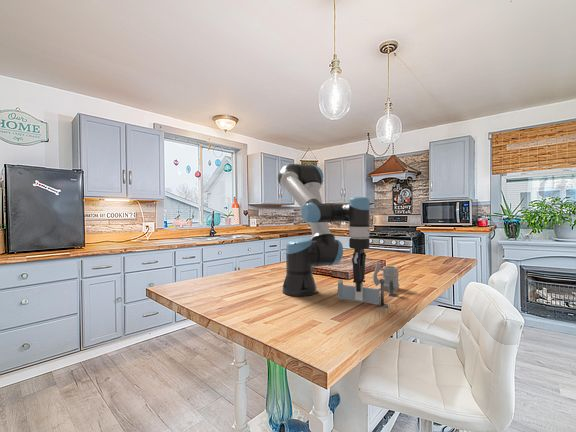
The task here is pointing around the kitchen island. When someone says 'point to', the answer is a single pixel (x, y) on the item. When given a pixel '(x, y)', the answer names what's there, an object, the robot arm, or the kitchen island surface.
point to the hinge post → (382, 295)
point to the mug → (387, 276)
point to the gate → (349, 293)
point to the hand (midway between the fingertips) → (359, 299)
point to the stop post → (392, 289)
